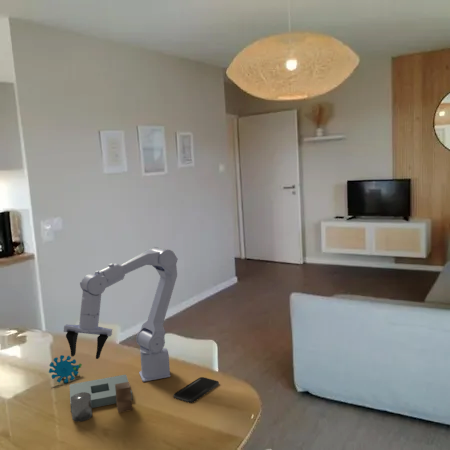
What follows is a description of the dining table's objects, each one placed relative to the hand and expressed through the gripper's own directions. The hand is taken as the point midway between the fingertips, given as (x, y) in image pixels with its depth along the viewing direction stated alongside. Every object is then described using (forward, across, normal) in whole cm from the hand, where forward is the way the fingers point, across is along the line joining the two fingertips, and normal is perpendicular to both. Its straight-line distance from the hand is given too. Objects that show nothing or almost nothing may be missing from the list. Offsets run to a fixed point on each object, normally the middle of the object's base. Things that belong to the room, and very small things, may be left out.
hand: (85, 356), depth 144 cm
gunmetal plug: (+14, +4, -10) cm, 18 cm away
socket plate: (+12, +6, +2) cm, 14 cm away
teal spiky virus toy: (+13, -10, +16) cm, 23 cm away
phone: (+8, +36, +3) cm, 37 cm away
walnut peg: (+12, +15, -6) cm, 20 cm away
